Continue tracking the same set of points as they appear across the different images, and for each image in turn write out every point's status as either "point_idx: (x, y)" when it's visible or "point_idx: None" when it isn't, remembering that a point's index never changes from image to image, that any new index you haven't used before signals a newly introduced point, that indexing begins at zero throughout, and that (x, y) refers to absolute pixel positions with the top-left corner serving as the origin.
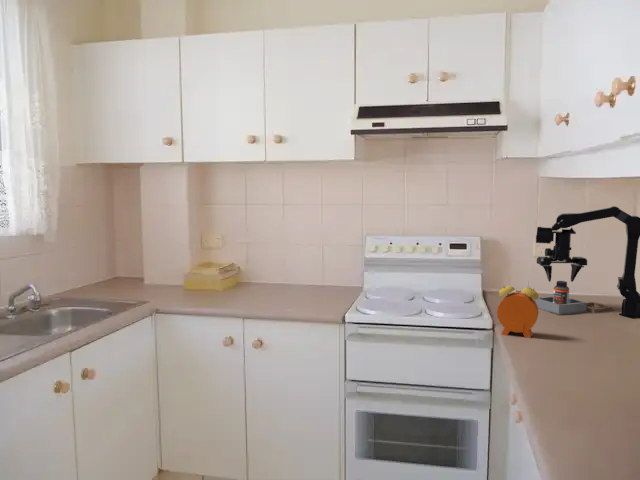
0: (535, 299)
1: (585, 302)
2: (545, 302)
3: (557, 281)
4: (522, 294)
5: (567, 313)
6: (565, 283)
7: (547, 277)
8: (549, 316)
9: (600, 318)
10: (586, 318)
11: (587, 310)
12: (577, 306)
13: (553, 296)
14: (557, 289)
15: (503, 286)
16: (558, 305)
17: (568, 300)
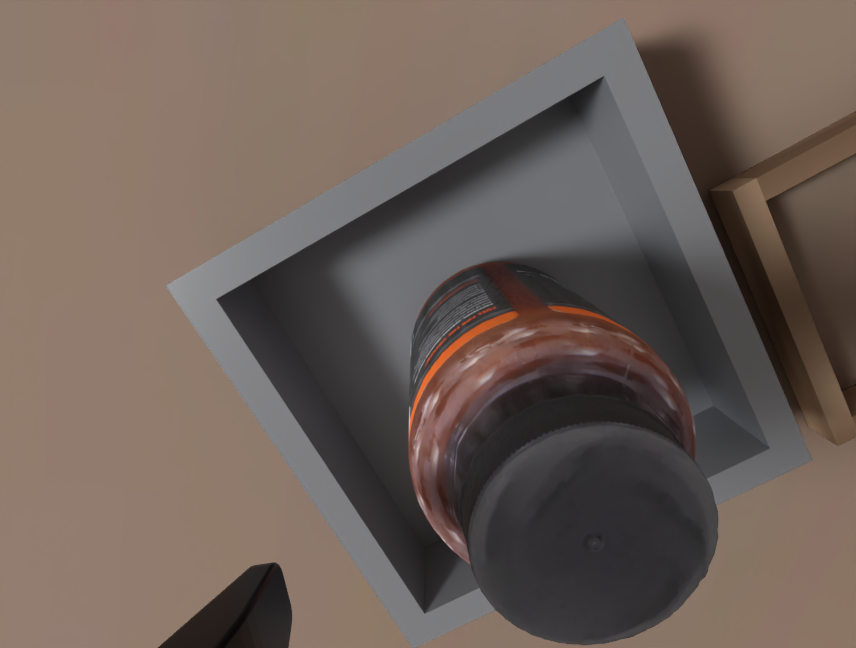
0: (182, 298)
1: (800, 456)
2: (293, 459)
3: (486, 543)
4: None
5: None
6: (641, 615)
7: (181, 632)
8: (317, 622)
9: (770, 622)
10: (640, 640)
11: (781, 358)
12: None
13: (409, 396)
14: (450, 546)
15: None
16: (408, 639)
17: (656, 220)
